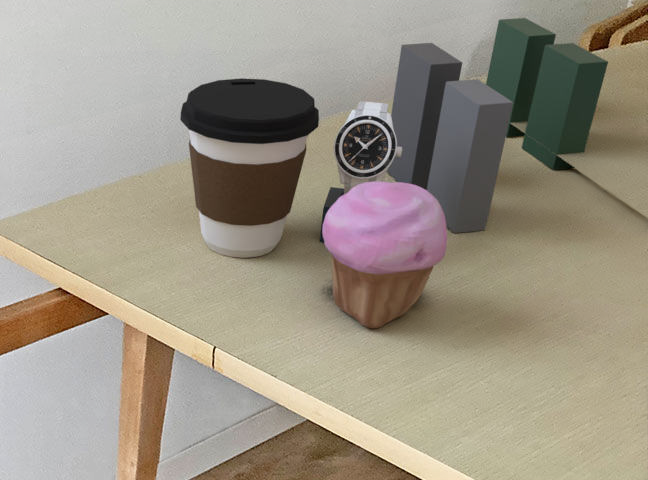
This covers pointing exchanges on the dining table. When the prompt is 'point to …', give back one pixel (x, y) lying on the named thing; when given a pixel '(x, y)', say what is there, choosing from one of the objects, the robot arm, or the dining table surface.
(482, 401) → the dining table surface
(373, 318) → the cupcake
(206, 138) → the coffee cup
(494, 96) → the grey books
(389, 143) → the watch
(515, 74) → the green books
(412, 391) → the dining table surface
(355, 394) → the dining table surface
